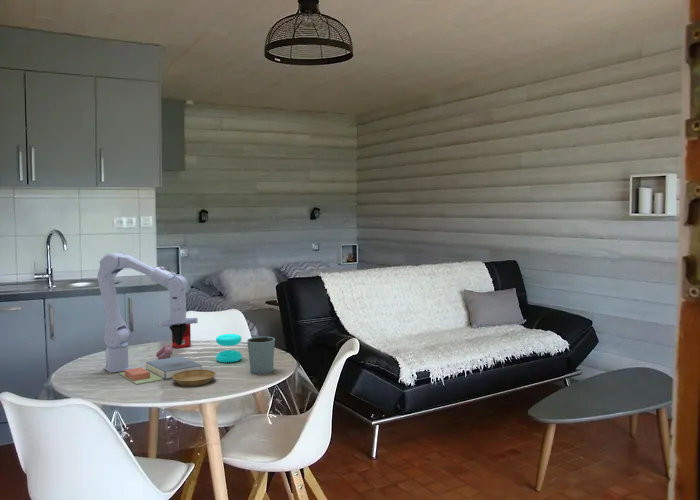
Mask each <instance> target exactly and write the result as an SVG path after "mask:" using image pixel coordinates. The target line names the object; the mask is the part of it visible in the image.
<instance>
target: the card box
mask: <svg viewBox="0 0 700 500" xmlns="http://www.w3.org/2000/svg"><path fill="white" fill-rule="evenodd" d="M145 369H146V368H143V367H142V366H141V367H134V368H132V369H128V370H124V371H123V372H124V374H125V376H126V377H128V378H130V379H131V380H133V381H135V380H141V379H146V378H150V372H149V371H147V370H145Z"/></svg>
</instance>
